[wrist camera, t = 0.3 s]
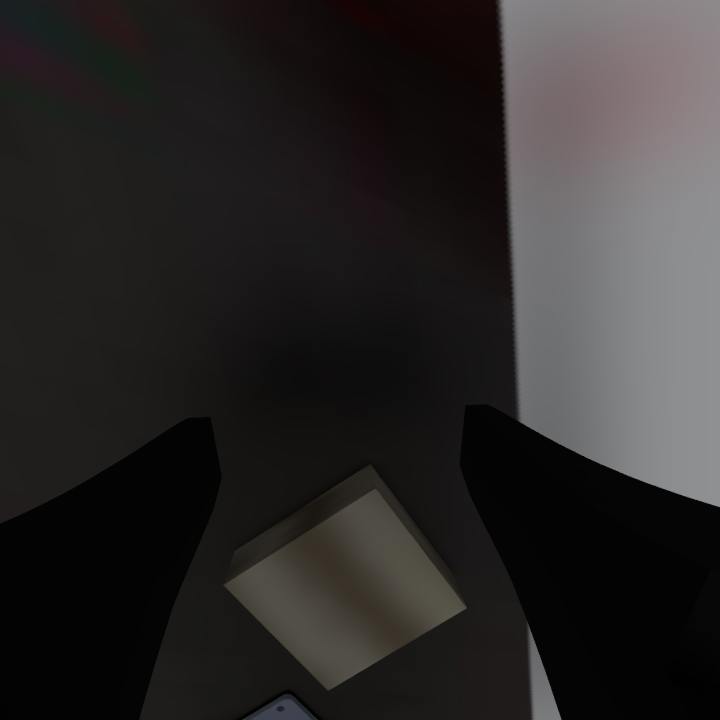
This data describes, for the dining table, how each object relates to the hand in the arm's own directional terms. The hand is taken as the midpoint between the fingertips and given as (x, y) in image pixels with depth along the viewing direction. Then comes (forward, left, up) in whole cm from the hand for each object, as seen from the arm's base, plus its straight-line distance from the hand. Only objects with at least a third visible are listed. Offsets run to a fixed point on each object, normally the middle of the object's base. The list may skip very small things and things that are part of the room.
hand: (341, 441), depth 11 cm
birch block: (-7, -12, -11) cm, 17 cm away
